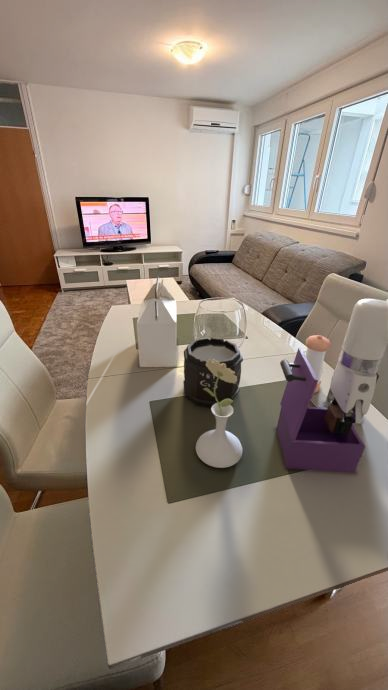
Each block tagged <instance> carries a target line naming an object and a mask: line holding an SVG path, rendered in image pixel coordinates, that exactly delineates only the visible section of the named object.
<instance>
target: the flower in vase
mask: <svg viewBox="0 0 388 690" xmlns="http://www.w3.org/2000/svg"><path fill="white" fill-rule="evenodd" d="M206 362H207V363H206V366H207V367H208V369H209V370H210V371H211V372H212V373H213V374H215V376H217V380H216V384H215V387H214V393H212V392H211V391H210V390H209V389H208V388H204V389H203V390H205V391H207V392H208V393H210V394H211V395H212V396H213V397H214V396H215V399H216V401H217V403H216V404H214V405H213V406H212V407H210V410H211V413H212V414H213V415H214V418H215V429H211V430H208V431H205V432H204V433H202V434H201V435H200V436H199V437H198V439H197V440H196V443H195V452H196V455H197V456H198V458H199V459H200V460H201V461H202V462H203V463H204V464H206V465H207V466H209V467H212V468H217V469H225V468H229V467H232V466H234V465H236V464H237V463H238V462H239V461H240V460H241V458H242V456H243V446H242V444H241V441H240V440H239V438H238V437H237V436H236V435H234V434H233V433H232V432H230V431H228V430H226V427H227V422H228V419H229V418H230V417H231V416H233V414H234V408H233V406H232V404H233V403H234V399H233V400H231V399H228V398H227V399H224V400H223V401H221V402H220V403H219V402H218V400H217V397H216V394H215V389H216V385H217V382H218V379H219V378H220V379H221V380H224V381H225V382H229V383H234V384H235V382H236V381H237V379H236V378H237V377H236V376H235V375H233V374H235V372H234V371H231V369H229V368H226V364H224V363H222V364H220V363H219V362H218V361H216V360H215V359H213V362H214V363H213V362H212V361H211V360H208V361H206Z"/></svg>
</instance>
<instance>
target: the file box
mask: <svg viewBox="0 0 388 690" xmlns="http://www.w3.org/2000/svg"><path fill="white" fill-rule="evenodd" d="M326 412H327V408H326V407H324V406H321V407H320V406H308V408H307V411H306V413H305V416H304V419H303V421H302V424H301V426H300V429H299V432H298V434H297V437H296V439H295V441H292V440H291V437H290V434H289V430H288V427H287V424H286V420H285V417H284V414H283V410H282V407H280V411H279V415H278V416H279V417H278V421H277V426H276V433H277V437H278V441H279V445H280V449H281V453H282V457H283V461H284V465H285V469H287V470H289V469H290V470H304V471H306V470H307V471H318V472H319V471H321V472H336V473H349V474H351V473H352V474H355V473H356V470H357V468H358V465H359V463H360V461H361V458H362V456H363V453H364V451H365V448H366V445H365V444H364V442H363V440H362V439H361V436H360V435H359V434H358V432H357V430H356V428H355V426H354V424H353V425H352V428H351V430H350V433H349V434H335V433H334V432H331V431H330V430H329V427H328V425H327V423H326V421H325V419H324V418H325V415H326Z"/></svg>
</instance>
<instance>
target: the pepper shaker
mask: <svg viewBox="0 0 388 690" xmlns="http://www.w3.org/2000/svg"><path fill="white" fill-rule="evenodd" d="M305 345H306V352H305V356H306V358H307V360H308V362H309V363H310V365H311V367H312V369H313V371H314V373H315V375H316V377H317V379H318V382H317V385H316V388H315V390H314V393H313V394H316V393H319V390H320V387H321V385H322V380H321V379H322V375H323V373H324V372H323V370H324V361H325V358H326V353H327V351H328V350H329V349H330V348H331V342H330V340H329V338H327V337H325V336H323V335H321V334H317V335H310V336H308V337H307V338H306V340H305Z"/></svg>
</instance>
